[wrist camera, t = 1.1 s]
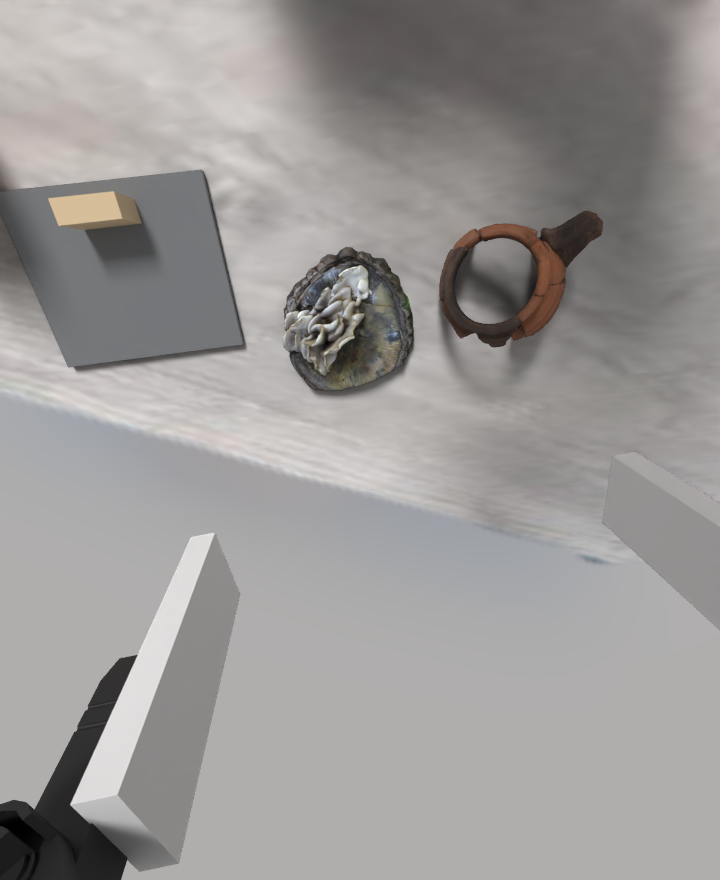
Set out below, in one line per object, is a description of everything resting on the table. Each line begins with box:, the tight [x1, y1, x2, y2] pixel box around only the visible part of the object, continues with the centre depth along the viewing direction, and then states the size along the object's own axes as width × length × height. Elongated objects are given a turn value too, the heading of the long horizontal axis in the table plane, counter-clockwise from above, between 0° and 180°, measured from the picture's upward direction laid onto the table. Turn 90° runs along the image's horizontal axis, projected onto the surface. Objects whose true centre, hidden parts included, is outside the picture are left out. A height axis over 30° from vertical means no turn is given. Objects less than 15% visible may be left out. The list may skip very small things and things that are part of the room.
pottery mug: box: [440, 211, 603, 347], centre depth 30 cm, size 12×10×8 cm
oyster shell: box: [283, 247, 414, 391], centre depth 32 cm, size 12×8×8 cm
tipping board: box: [0, 170, 244, 367], centre depth 27 cm, size 12×14×4 cm
